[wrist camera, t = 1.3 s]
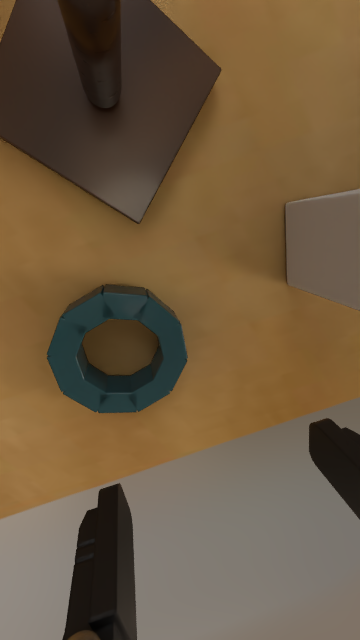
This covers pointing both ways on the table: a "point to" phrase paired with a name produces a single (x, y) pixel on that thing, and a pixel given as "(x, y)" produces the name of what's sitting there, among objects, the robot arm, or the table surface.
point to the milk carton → (325, 246)
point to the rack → (101, 93)
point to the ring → (116, 390)
